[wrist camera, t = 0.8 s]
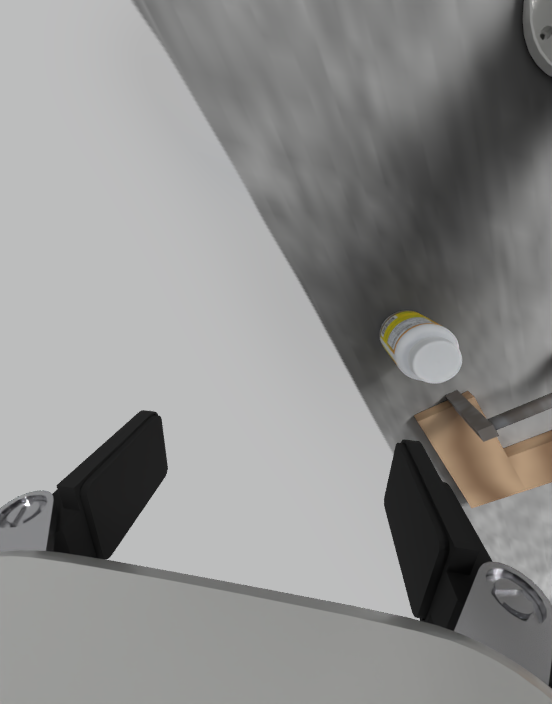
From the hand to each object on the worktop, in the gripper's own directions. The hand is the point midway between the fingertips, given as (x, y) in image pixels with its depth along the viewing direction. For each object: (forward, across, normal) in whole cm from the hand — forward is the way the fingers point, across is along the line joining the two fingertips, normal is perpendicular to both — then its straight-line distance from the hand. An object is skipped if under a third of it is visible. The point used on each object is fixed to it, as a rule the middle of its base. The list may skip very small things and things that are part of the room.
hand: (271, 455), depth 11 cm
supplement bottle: (+25, -12, +1) cm, 28 cm away
